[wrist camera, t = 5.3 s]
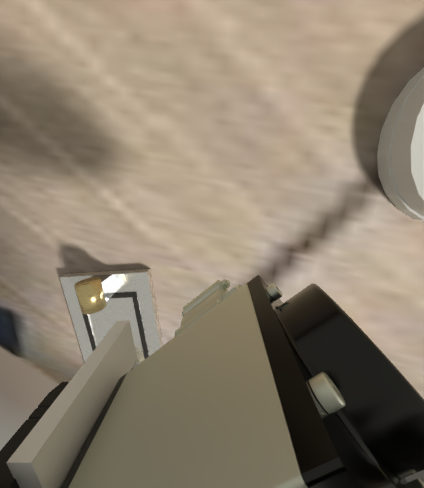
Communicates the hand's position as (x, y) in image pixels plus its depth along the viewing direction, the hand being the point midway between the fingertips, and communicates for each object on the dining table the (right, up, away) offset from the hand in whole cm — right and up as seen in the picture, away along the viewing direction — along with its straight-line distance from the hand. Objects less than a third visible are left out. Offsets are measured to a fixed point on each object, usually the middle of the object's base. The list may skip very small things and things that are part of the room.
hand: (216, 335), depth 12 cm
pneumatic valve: (0, +1, +3) cm, 3 cm away
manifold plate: (-16, -9, +23) cm, 30 cm away
